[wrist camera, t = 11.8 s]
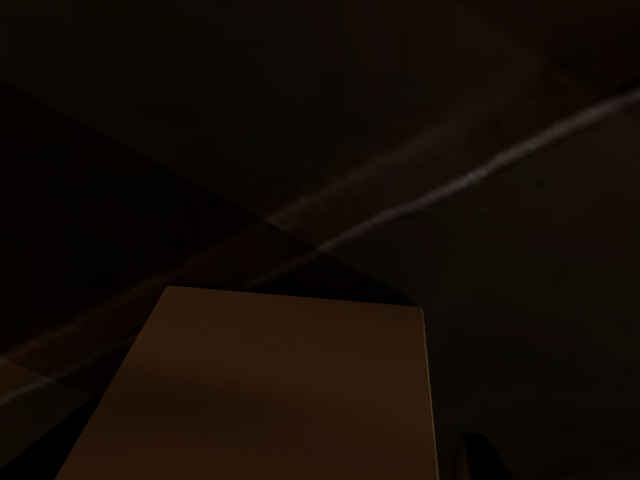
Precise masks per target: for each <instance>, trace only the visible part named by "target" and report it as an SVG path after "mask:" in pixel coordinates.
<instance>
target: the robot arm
mask: <svg viewBox="0 0 640 480" xmlns="http://www.w3.org/2000/svg"><path fill="white" fill-rule="evenodd" d="M102 397H103V395H95V396H93V397H92V398H90V399H89V400H88V401H86V402H85V403H84V404H83V405H81V406H80V407H79V408H78V409H76V410H75V411H74V412H73V413H71V414H70V415H69V416H67V417H66V418H65V419H64V420H62V421H61V422H60V423H59V424H57V425H56V426H55V427H54V428H52V429H51V430H50V431H48V432H47V433H46V434H45V435H43V436H42V437H41V438H40V439H38V440H37V441H36V442H35V443H33V444H32V445H31V446H30V447H28V448H27V449H26V450H24V451H23V452H22V453H21V454H19V455H18V456H17V457H16V458H14V459H13V460H12V461H11V462H9V463H8V464H7V465H5V466H4V467H3V468H2V469H0V480H55V478H56V476H57V474H58V473H59V471H60V469H61V468H62V466H63V464H64V462H65V461H66V459H67V457H68V455H69V454H70V452H71V450H72V449H73V447H74V445H75V443H76V442H77V440H78V438H79V437H80V435H81V433H82V431H83V430H84V428H85V426H86V424H87V423H88V421H89V419H90V418H91V416H92V414H93V412H94V411H95V409H96V407H97V406H98V404H99V402H100V400H101V399H102ZM452 480H514V479H513V477H512V476H511V474H510V473H509V471H508V470H507V468H506V467H505V465H504V463H503V462H502V460H501V459H500V457H499V456H498V454H497V453H496V451H495V450H494V448H493V447H492V445H491V444H490V442H489V441H488V439H487V438H486V437H485V436H484V435H481V434H473V433H462V434H461V435H460V436H459V439H458V442H457V446H456V450H455V454H454V457H453V462H452Z"/></svg>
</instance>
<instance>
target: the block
mask: <svg viewBox="0 0 640 480" xmlns="http://www.w3.org/2000/svg"><path fill="white" fill-rule="evenodd" d="M55 480H439V475H438V465H437V454H436V444H435V433H434V423H433V412H432V402H431V391H430V381H429V370H428V360H427V349H426V339H425V328H424V318H423V310H422V308H421V307H417V306H406V305H394V304H382V303H370V302H359V301H347V300H335V299H323V298H312V297H300V296H288V295H276V294H265V293H253V292H241V291H229V290H218V289H206V288H194V287H182V286H171V285H170V286H167V287H166V289H165V290H164V292H163V294H162V295H161V297H160V299H159V301H158V302H157V304H156V306H155V307H154V309H153V311H152V313H151V314H150V316H149V318H148V319H147V321H146V323H145V325H144V326H143V328H142V330H141V332H140V333H139V335H138V337H137V338H136V340H135V342H134V344H133V345H132V347H131V349H130V350H129V352H128V354H127V356H126V357H125V359H124V361H123V363H122V364H121V366H120V368H119V369H118V371H117V373H116V375H115V376H114V378H113V380H112V381H111V383H110V385H109V387H108V388H107V390H106V392H105V393H104V395H103V397H102V399H101V400H100V402H99V404H98V406H97V407H96V409H95V411H94V412H93V414H92V416H91V418H90V419H89V421H88V423H87V424H86V426H85V428H84V430H83V431H82V433H81V435H80V437H79V438H78V440H77V442H76V443H75V445H74V447H73V449H72V450H71V452H70V454H69V455H68V457H67V459H66V461H65V462H64V464H63V466H62V468H61V469H60V471H59V473H58V474H57V476H56V478H55Z"/></svg>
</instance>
